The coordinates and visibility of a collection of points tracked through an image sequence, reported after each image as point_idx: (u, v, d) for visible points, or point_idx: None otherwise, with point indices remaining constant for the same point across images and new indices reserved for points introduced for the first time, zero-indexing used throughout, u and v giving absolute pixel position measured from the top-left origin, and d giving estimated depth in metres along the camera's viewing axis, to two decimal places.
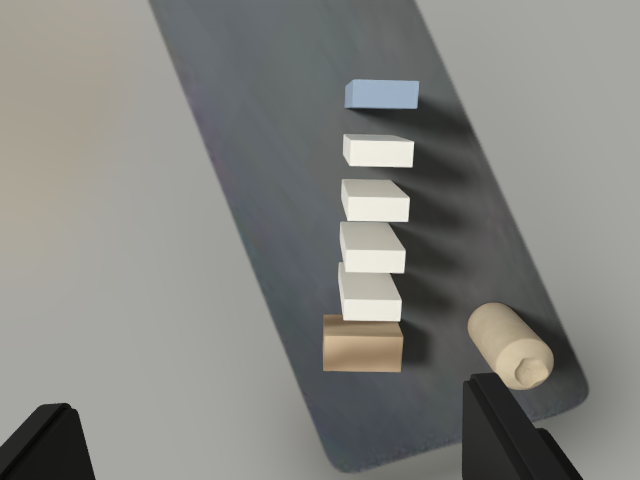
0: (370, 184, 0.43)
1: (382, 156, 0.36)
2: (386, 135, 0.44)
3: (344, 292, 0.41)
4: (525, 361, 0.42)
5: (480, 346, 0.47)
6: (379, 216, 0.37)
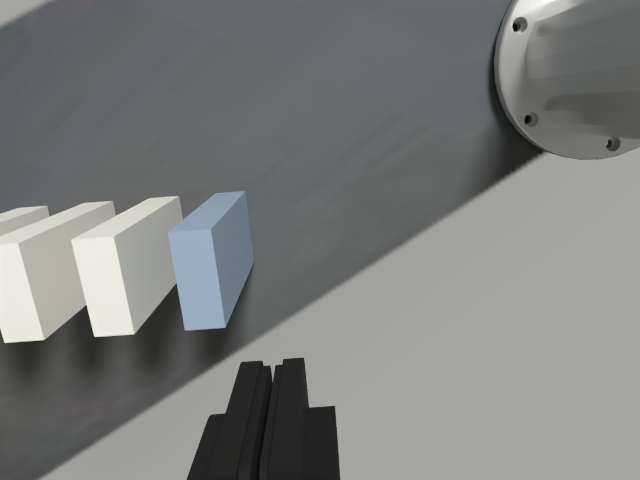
0: None
1: (99, 290, 0.22)
2: None
3: None
4: None
5: None
6: None
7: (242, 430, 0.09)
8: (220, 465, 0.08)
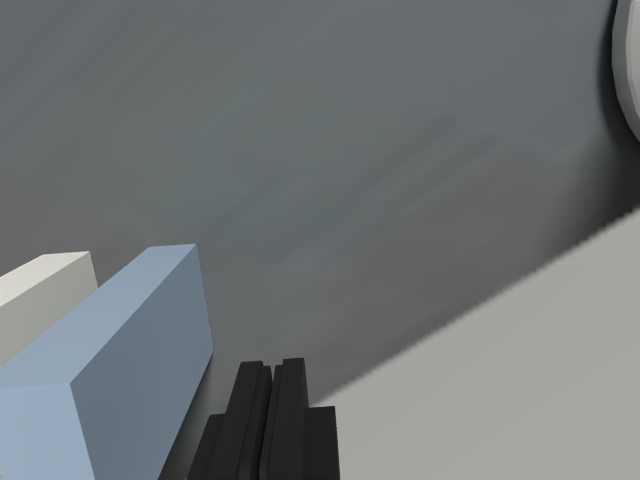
0: None
1: None
2: None
3: None
4: None
5: None
6: None
7: (242, 430, 0.09)
8: (220, 465, 0.08)
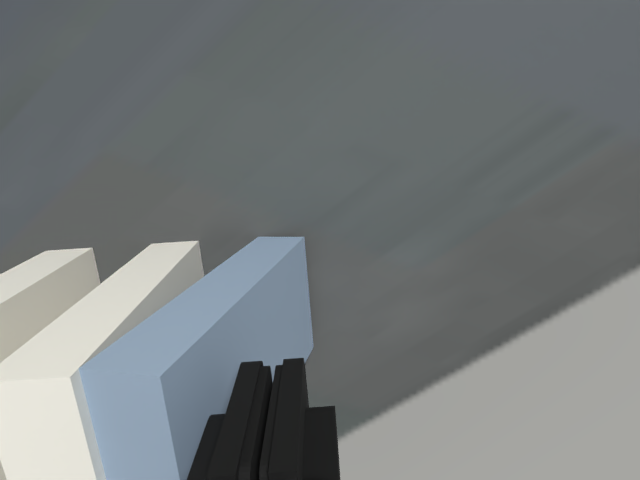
0: None
1: None
2: None
3: None
4: None
5: None
6: None
7: (242, 430, 0.09)
8: (220, 465, 0.08)
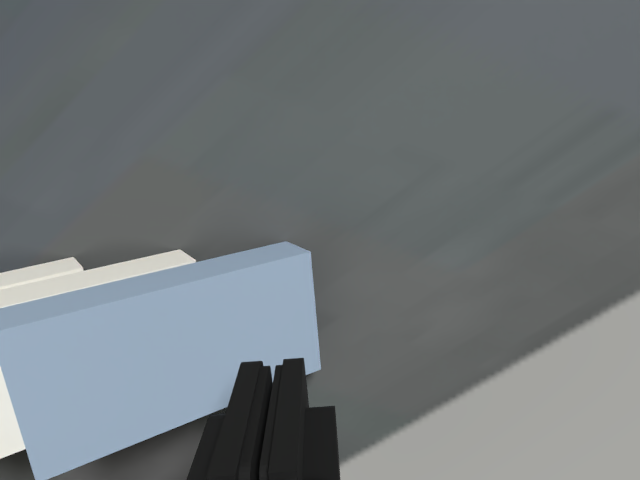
0: None
1: None
2: None
3: None
4: None
5: None
6: None
7: (242, 430, 0.09)
8: (220, 465, 0.08)
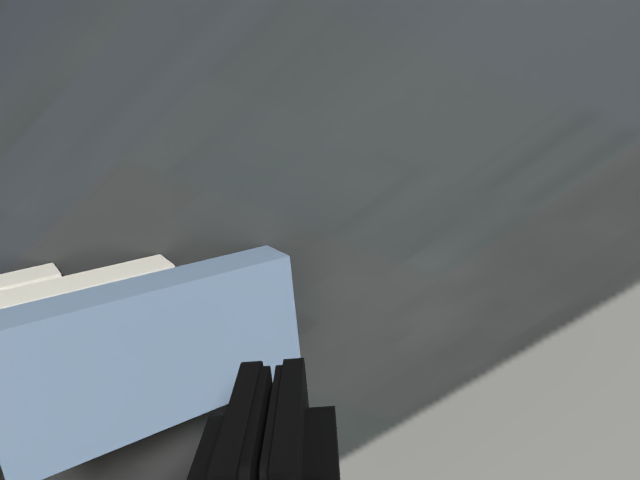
0: None
1: None
2: None
3: None
4: None
5: None
6: None
7: (242, 430, 0.09)
8: (220, 465, 0.08)
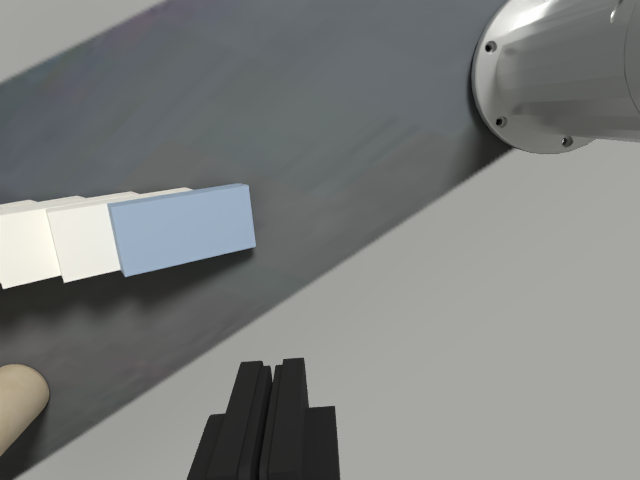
0: None
1: (54, 246, 0.32)
2: None
3: None
4: None
5: None
6: None
7: (242, 430, 0.09)
8: (220, 465, 0.08)
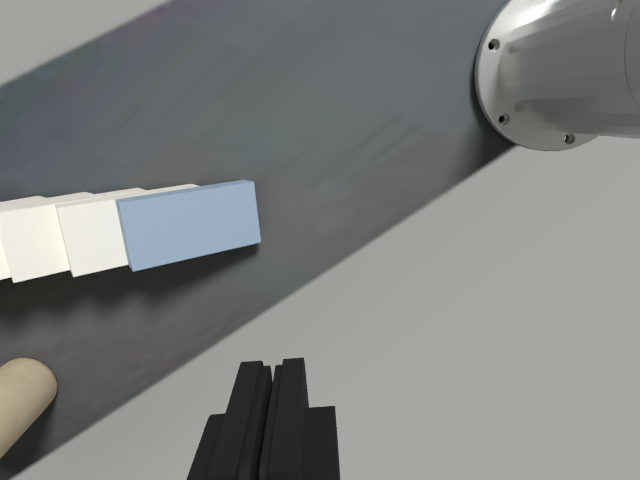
0: None
1: (64, 241, 0.32)
2: None
3: None
4: None
5: None
6: (3, 246, 0.32)
7: (242, 430, 0.09)
8: (220, 465, 0.08)
